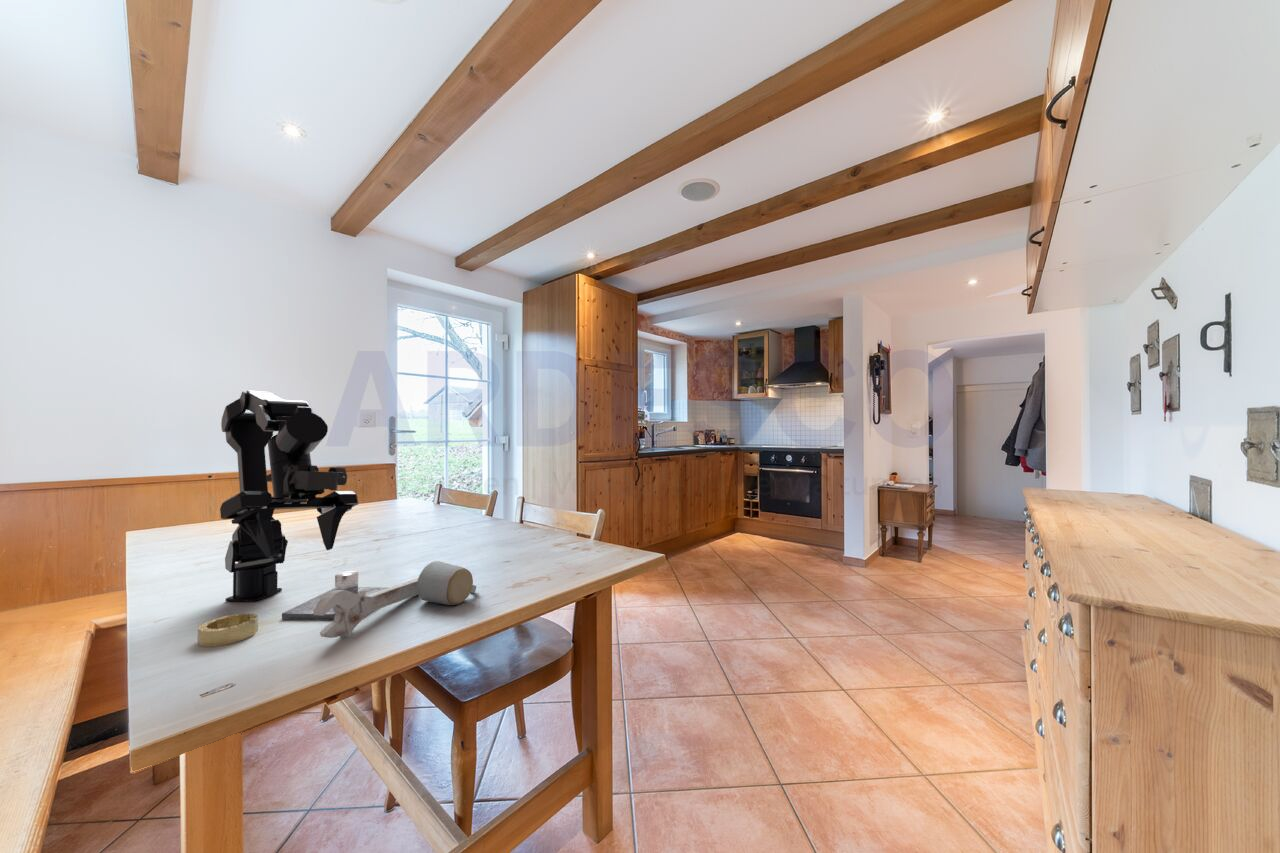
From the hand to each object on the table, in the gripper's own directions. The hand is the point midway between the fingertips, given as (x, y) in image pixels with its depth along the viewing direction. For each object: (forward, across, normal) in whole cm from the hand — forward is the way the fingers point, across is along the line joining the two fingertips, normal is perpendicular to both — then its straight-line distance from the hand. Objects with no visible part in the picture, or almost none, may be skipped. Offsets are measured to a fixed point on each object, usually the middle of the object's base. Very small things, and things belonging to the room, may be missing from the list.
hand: (302, 552), depth 74 cm
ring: (+9, -3, +15) cm, 18 cm away
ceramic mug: (+15, +23, -6) cm, 28 cm away
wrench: (+14, +13, 0) cm, 19 cm away
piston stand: (+9, +13, +10) cm, 19 cm away
